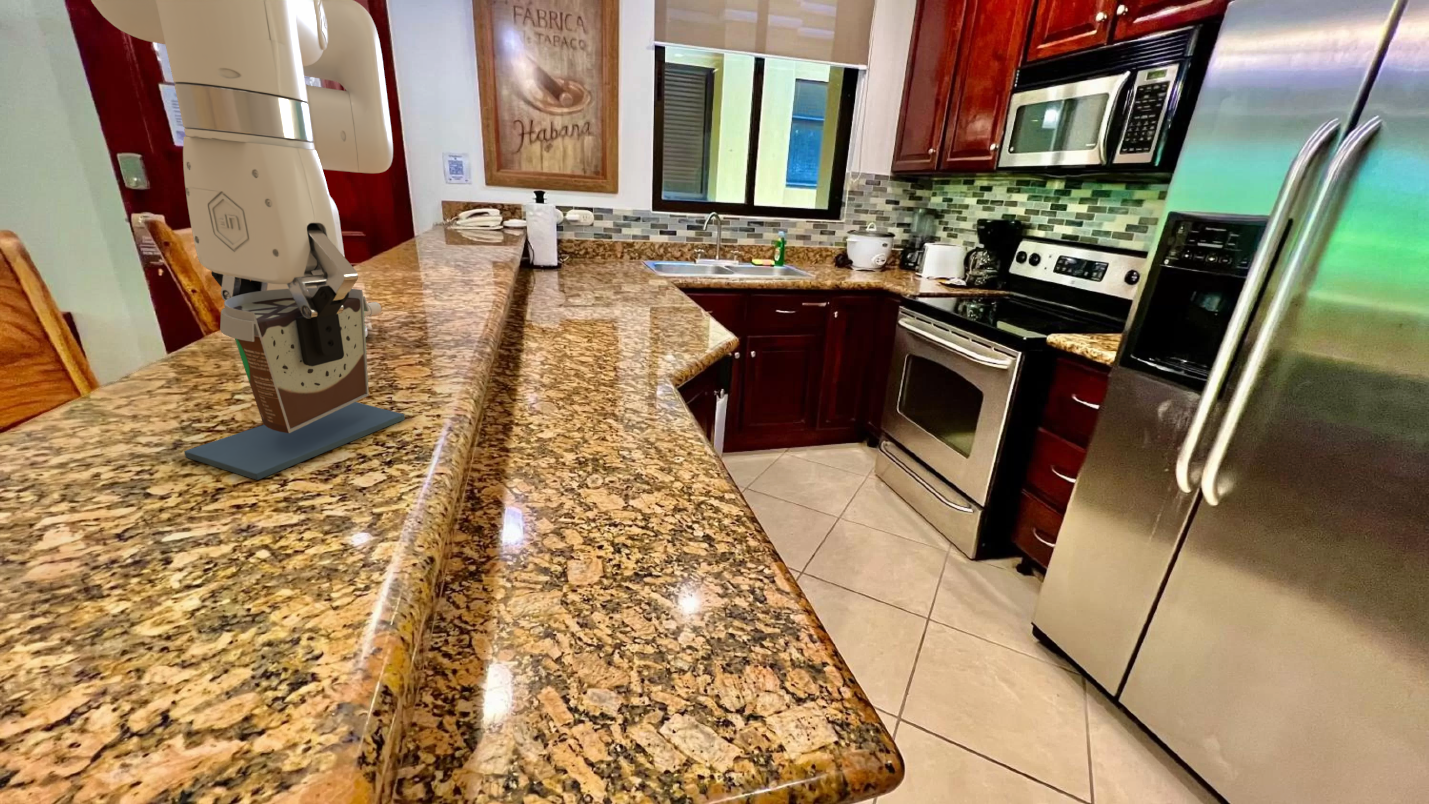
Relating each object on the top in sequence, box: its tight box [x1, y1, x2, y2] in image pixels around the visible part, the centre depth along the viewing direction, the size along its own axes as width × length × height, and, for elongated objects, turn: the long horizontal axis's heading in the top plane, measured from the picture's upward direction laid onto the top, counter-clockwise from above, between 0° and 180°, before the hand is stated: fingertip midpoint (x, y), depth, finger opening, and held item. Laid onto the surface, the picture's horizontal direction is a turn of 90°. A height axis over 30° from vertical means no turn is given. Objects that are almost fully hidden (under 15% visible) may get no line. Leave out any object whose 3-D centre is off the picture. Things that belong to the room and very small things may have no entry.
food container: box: [219, 288, 370, 433], centre depth 47 cm, size 12×6×10 cm, turn 174°
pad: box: [183, 401, 406, 481], centre depth 50 cm, size 14×8×1 cm, turn 162°
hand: (291, 352), depth 47 cm, fingers closed on food container, 6 cm apart
